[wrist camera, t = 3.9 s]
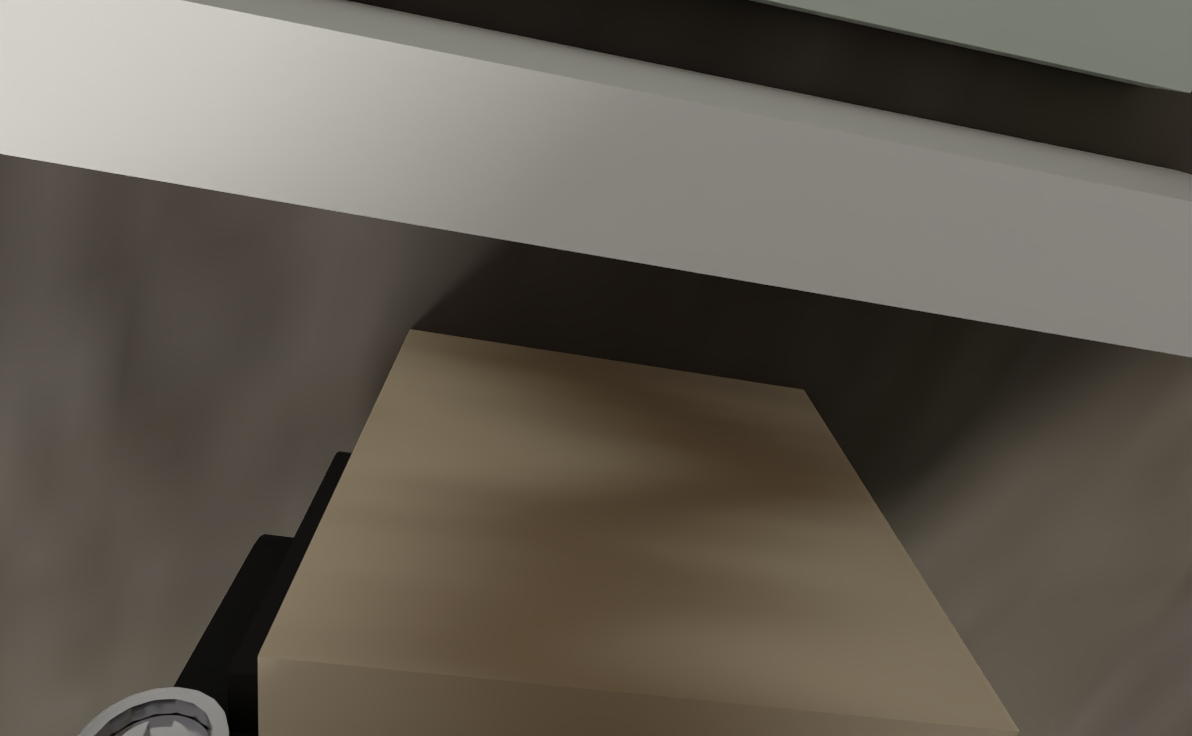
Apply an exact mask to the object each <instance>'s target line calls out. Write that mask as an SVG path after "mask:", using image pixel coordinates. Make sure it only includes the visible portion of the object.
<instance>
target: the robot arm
mask: <svg viewBox="0 0 1192 736" xmlns="http://www.w3.org/2000/svg"><path fill="white" fill-rule="evenodd" d="M351 454H352V453H347V452H337V454H336V455H335V457H334V459H333V461H332V463H331V465H330V467H329V469H328V471H327V473H326V475H325V477H324V479H323V481H322V483H321V485H320V487H319V489H318V491H317V493H316V495H315V497H314V499H313V501H312V503H311V505H310V507H309V509H308V511H307V513H306V515H305V517H304V519H303V521H302V523H301V525H300V527H299V529H298V531H297V533H296V535H295V537H294V538H292V537H283V536H275V535H266V534H264V535H262V536H261V537H259V539H258V540H257V541H256V543H255V544H254V546H253V548H252V549H251V551H250V553H249V555H248V556H247V558H246V560H245V562H244V564H243V565H242V567H241V569H240V571H239V572H238V574H237V576H236V578H235V579H234V581H233V583H232V585H231V586H230V588H229V590H228V592H227V594H226V595H225V597H224V599H223V601H222V602H221V604H220V606H219V608H218V609H217V611H216V613H215V615H214V616H213V618H212V620H211V622H210V623H209V625H208V627H207V629H206V631H205V632H204V634H203V636H202V638H201V639H200V641H199V643H198V645H197V646H196V648H195V650H194V652H193V653H192V655H191V657H190V659H189V661H188V662H187V664H186V666H185V668H184V669H183V671H182V673H181V675H180V676H179V678H178V680H177V682H176V683H175V685H174V687H172V688H159V689H152V690H149V691H145V692H142V693H139V694H135V695H132V696H129V697H127V698H125V699H123V700H121V701H120V702H118V703H116V704H114V705H112V706H110V707H108V708H106V709H105V710H104V711H103V712H101V713H100V714H99V715H98V716H96V717H95V718H94V719H93V720H92V721H90V722H89V723H88V724H87V725H86V726H85V727H84V728H83V730H82V731H81V732H80V734H79V735H78V736H258V654H259V652H260V650H261V648H262V646H263V644H264V641H265V639H266V637H267V635H268V633H269V631H270V629H271V626H272V624H273V622H274V620H275V618H276V616H277V614H278V611H279V609H280V607H281V605H282V603H283V601H284V598H285V596H286V594H287V592H288V590H289V588H290V586H291V583H292V581H293V579H294V577H295V575H296V573H297V571H298V568H299V566H300V564H301V562H302V560H303V558H304V555H305V553H306V551H307V549H308V547H309V545H310V543H311V540H312V538H313V536H314V534H315V532H316V530H317V528H318V525H319V523H320V521H321V519H322V517H323V515H324V512H325V510H326V508H327V506H328V504H329V502H330V500H331V497H332V495H333V493H334V491H335V489H336V487H337V485H338V482H339V480H340V478H341V476H342V474H343V472H344V469H345V467H346V465H347V463H348V461H349V459H350V457H351Z"/></svg>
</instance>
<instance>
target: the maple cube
mask: <svg viewBox="0 0 1192 736" xmlns="http://www.w3.org/2000/svg"><path fill="white" fill-rule="evenodd" d="M1019 732H1020V731H1019V729H1018V728H1017V726H1016V725H1015V723H1014V721H1013V720H1012V718H1011V717H1010V715H1009V714H1008V712H1007V710H1006V709H1005V707H1004V706H1003V704H1002V702H1001V701H1000V699H999V698H998V696H997V695H996V693H995V691H994V690H993V688H992V687H991V685H990V683H989V682H988V680H987V679H986V677H985V676H984V674H983V672H982V671H981V669H980V668H979V666H978V664H977V663H976V661H975V660H974V658H973V657H972V655H971V653H970V652H969V650H968V649H967V647H966V645H965V644H964V642H963V641H962V639H961V638H960V636H959V634H958V633H957V631H956V630H955V628H954V627H953V625H952V623H951V622H950V620H949V619H948V617H947V615H946V614H945V612H944V611H943V609H942V608H941V606H940V604H939V603H938V601H937V600H936V598H935V596H934V595H933V593H932V592H931V590H930V589H929V587H928V585H927V584H926V582H925V581H924V579H923V577H922V576H921V574H920V573H919V571H918V570H917V568H916V566H915V565H914V563H913V562H912V560H911V559H910V557H909V555H908V554H907V552H906V551H905V549H904V547H903V546H902V544H901V543H900V541H899V540H898V538H897V536H896V535H895V533H894V532H893V530H892V528H891V527H890V525H889V524H888V522H887V521H886V519H885V517H884V516H883V514H882V513H881V511H880V509H879V508H878V506H877V505H876V503H875V502H874V500H873V498H872V497H871V495H870V494H869V492H868V491H867V489H866V487H865V486H864V484H863V483H862V481H861V479H860V478H859V476H858V475H857V473H856V472H855V470H854V468H853V467H852V465H851V464H850V462H849V460H848V459H847V457H846V456H845V454H844V453H843V451H842V449H841V448H840V446H839V445H838V443H837V441H836V440H835V438H834V437H833V435H832V434H831V432H830V430H829V429H828V427H827V426H826V424H825V422H824V421H823V419H822V418H821V416H820V415H819V413H818V411H817V410H816V408H815V407H814V405H813V404H812V402H811V400H810V399H809V397H808V396H807V394H806V392H805V391H804V390H803V389H796V388H790V387H783V386H777V385H770V384H764V383H757V382H751V381H744V380H738V379H731V378H725V377H718V376H712V375H705V374H699V373H692V372H686V371H679V370H673V369H666V368H660V367H653V366H646V365H640V364H633V363H627V362H620V361H614V360H607V359H601V358H594V357H588V356H581V355H575V354H568V353H562V352H555V351H549V350H542V349H536V348H529V347H523V346H516V345H510V344H503V343H497V342H490V341H484V340H477V339H471V338H464V337H458V336H451V335H445V334H438V333H432V332H425V331H419V330H412V329H410V330H409V332H408V334H407V336H406V338H405V340H404V343H403V345H402V347H401V349H400V351H399V353H398V356H397V358H396V360H395V362H394V364H393V366H392V368H391V371H390V373H389V375H388V377H387V379H386V381H385V383H384V386H383V388H382V390H381V392H380V394H379V396H378V399H377V401H376V403H375V405H374V407H373V409H372V411H371V414H370V416H369V418H368V420H367V422H366V424H365V426H364V429H363V431H362V433H361V435H360V437H359V439H358V442H357V444H356V446H355V448H354V450H353V452H352V454H351V457H350V459H349V461H348V463H347V465H346V467H345V469H344V472H343V474H342V476H341V478H340V480H339V482H338V485H337V487H336V489H335V491H334V493H333V495H332V497H331V500H330V502H329V504H328V506H327V508H326V510H325V512H324V515H323V517H322V519H321V521H320V523H319V525H318V528H317V530H316V532H315V534H314V536H313V538H312V540H311V543H310V545H309V547H308V549H307V551H306V553H305V555H304V558H303V560H302V562H301V564H300V566H299V568H298V571H297V573H296V575H295V577H294V579H293V581H292V583H291V586H290V588H289V590H288V592H287V594H286V596H285V598H284V601H283V603H282V605H281V607H280V609H279V611H278V614H277V616H276V618H275V620H274V622H273V624H272V626H271V629H270V631H269V633H268V635H267V637H266V639H265V641H264V644H263V646H262V648H261V650H260V652H259V654H258V736H1017V735H1018V734H1019Z"/></svg>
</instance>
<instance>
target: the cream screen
mask: <svg viewBox="0 0 1192 736" xmlns="http://www.w3.org/2000/svg"><path fill="white" fill-rule="evenodd" d="M0 154H5V155H11V156H17V157H23V158H29V159H34V160H40V161H46V162H52V163H58V164H64V165H69V166H75V167H81V168H87V169H93V170H99V171H105V172H110V173H116V174H122V175H128V176H134V177H140V178H145V179H151V180H157V181H163V182H169V183H175V184H181V185H186V186H192V187H198V188H204V189H210V190H216V191H222V192H227V193H233V194H239V195H245V196H251V197H257V198H262V199H268V200H274V201H280V202H286V203H292V204H298V205H303V206H309V207H315V208H321V209H327V210H333V211H338V212H344V213H350V214H356V215H362V216H368V217H374V218H379V219H385V220H391V221H397V222H403V223H409V224H414V225H420V226H426V227H432V228H438V229H444V230H450V231H455V232H461V233H467V234H473V235H479V236H485V237H491V238H496V239H502V240H508V241H514V242H520V243H526V244H531V245H537V246H543V247H549V248H555V249H561V250H567V251H572V252H578V253H584V254H590V255H596V256H602V257H607V258H613V259H619V260H625V261H631V262H637V263H643V264H648V265H654V266H660V267H666V268H672V269H678V270H683V271H689V272H695V273H701V274H707V275H713V276H719V277H724V278H730V279H736V280H742V281H748V282H754V283H760V284H765V285H771V286H777V287H783V288H789V289H795V290H800V291H806V292H812V293H818V294H824V295H830V296H836V297H841V298H847V299H853V300H859V301H865V302H871V303H876V304H882V305H888V306H894V307H900V308H906V309H912V310H917V311H923V312H929V313H935V314H941V315H947V316H952V317H958V318H964V319H970V320H976V321H982V322H988V323H993V324H999V325H1005V326H1011V327H1017V328H1023V329H1029V330H1034V331H1040V332H1046V333H1052V334H1058V335H1064V336H1069V337H1075V338H1081V339H1087V340H1093V341H1099V342H1105V343H1110V344H1116V345H1122V346H1128V347H1134V348H1140V349H1145V350H1151V351H1157V352H1163V353H1169V354H1175V355H1181V356H1186V357H1192V174H1188V173H1185V172H1181V171H1177V170H1173V169H1168V168H1163V167H1158V166H1153V165H1148V164H1143V163H1139V162H1134V161H1129V160H1124V159H1119V158H1114V157H1109V156H1104V155H1099V154H1095V153H1090V152H1085V151H1080V150H1075V149H1070V148H1065V147H1060V146H1056V145H1051V144H1046V143H1041V142H1036V141H1031V140H1026V139H1021V138H1017V137H1012V136H1007V135H1002V134H997V133H992V132H987V131H982V130H977V129H973V128H968V127H963V126H958V125H953V124H948V123H943V122H938V121H934V120H929V119H924V118H919V117H914V116H909V115H904V114H899V113H894V112H890V111H885V110H880V109H875V108H870V107H865V106H860V105H855V104H851V103H846V102H841V101H836V100H831V99H826V98H821V97H816V96H812V95H807V94H802V93H797V92H792V91H787V90H782V89H777V88H772V87H768V86H763V85H758V84H753V83H748V82H743V81H738V80H733V79H729V78H724V77H719V76H714V75H709V74H704V73H699V72H694V71H689V70H685V69H680V68H675V67H670V66H665V65H660V64H655V63H650V62H646V61H641V60H636V59H631V58H626V57H621V56H616V55H611V54H607V53H602V52H597V51H592V50H587V49H582V48H577V47H572V46H567V45H563V44H558V43H553V42H548V41H543V40H538V39H533V38H528V37H524V36H519V35H514V34H509V33H504V32H499V31H494V30H489V29H484V28H480V27H475V26H470V25H465V24H460V23H455V22H450V21H445V20H441V19H436V18H431V17H426V16H421V15H416V14H411V13H406V12H402V11H397V10H392V9H387V8H382V7H377V6H372V5H367V4H362V3H358V2H353V1H348V0H0Z"/></svg>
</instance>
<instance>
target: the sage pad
mask: <svg viewBox="0 0 1192 736" xmlns="http://www.w3.org/2000/svg"><path fill="white" fill-rule="evenodd" d="M750 1H755V2H759V3H764V4H768V5H773V6H777V7H782V8H787V9H791V10H796V11H800V12H805V13H809V14H814V15H819V16H823V17H828V18H832V19H837V20H841V21H846V22H851V23H855V24H860V25H864V26H869V27H873V28H878V29H883V30H887V31H892V32H896V33H901V34H905V35H910V36H915V37H919V38H924V39H928V40H933V41H937V42H942V43H946V44H951V45H956V46H960V47H965V48H969V49H974V50H978V51H983V52H988V53H992V54H997V55H1001V56H1006V57H1010V58H1015V59H1020V60H1024V61H1029V62H1033V63H1038V64H1042V65H1047V66H1052V67H1056V68H1061V69H1065V70H1070V71H1074V72H1079V73H1084V74H1088V75H1093V76H1097V77H1102V78H1106V79H1111V80H1116V81H1120V82H1125V83H1129V84H1134V85H1138V86H1143V87H1150V88H1157V89H1164V90H1171V91H1178V92H1185V93H1191V91H1192V0H750Z"/></svg>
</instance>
